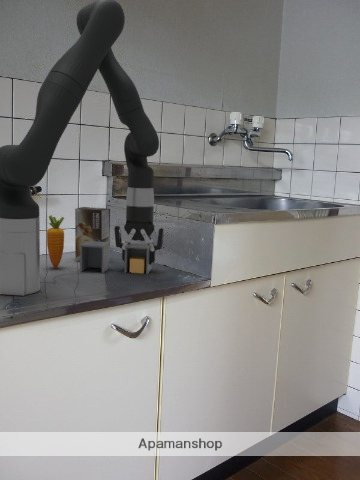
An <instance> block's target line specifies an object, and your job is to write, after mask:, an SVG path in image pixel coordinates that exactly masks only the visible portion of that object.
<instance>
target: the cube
mask: <svg viewBox="0 0 360 480" xmlns="http://www.w3.org/2000/svg"><path fill="white" fill-rule="evenodd" d="M146 260H147V257H141V256H132V257H131V258H130V269H129V273H130V272H131V273H132V274H146ZM131 273H130V274H131Z"/></svg>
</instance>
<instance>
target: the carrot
mask: <svg viewBox="0 0 360 480" xmlns="http://www.w3.org/2000/svg"><path fill="white" fill-rule="evenodd" d="M48 219H49V221H50V222H48V224H49V225H50V226H51V227H49V228H48V229H47V230H46V245H47V253H48V256H49V261H50V263H51V265H52V267H53V268H54V269H57V268H58V266H60V263H61V261H62V258H63V255H64V254H63V253H64V247H65V231H64V229H62V228H61V227H60V225H62V223H63V221H64V219H65V218H64V216H61V217H60V219H57V218H56V217H55V216H53V215H52V214H50V215H49V216H48Z"/></svg>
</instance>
